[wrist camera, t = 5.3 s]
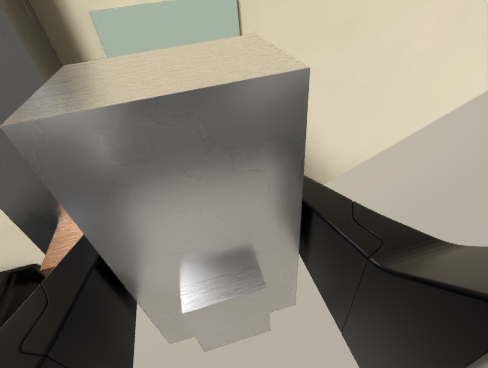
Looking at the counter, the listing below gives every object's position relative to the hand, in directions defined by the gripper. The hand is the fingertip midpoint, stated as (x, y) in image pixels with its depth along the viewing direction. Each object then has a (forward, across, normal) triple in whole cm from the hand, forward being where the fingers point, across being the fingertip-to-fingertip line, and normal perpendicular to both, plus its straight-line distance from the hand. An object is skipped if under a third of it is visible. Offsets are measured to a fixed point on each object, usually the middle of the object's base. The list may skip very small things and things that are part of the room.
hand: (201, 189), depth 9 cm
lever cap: (0, 0, 0) cm, 1 cm away
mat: (+13, 0, 0) cm, 13 cm away
